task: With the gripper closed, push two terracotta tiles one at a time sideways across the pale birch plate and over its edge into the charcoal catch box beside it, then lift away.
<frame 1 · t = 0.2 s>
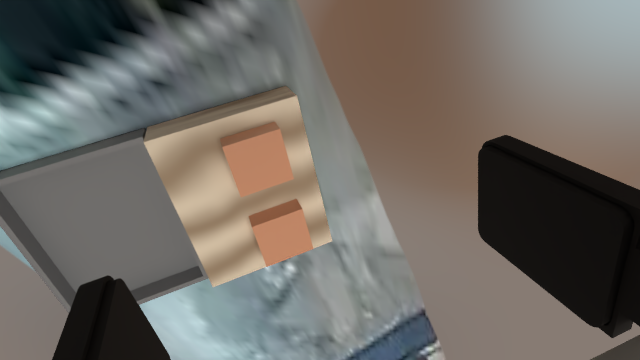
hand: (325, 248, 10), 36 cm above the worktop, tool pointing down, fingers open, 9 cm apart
catch box: (112, 225, 45), on the worktop
tile a: (255, 155, 41), point 5 cm above the worktop, touching bench plate
bench plate: (245, 180, 48), on the worktop
tile b: (279, 227, 46), point 5 cm above the worktop, touching bench plate
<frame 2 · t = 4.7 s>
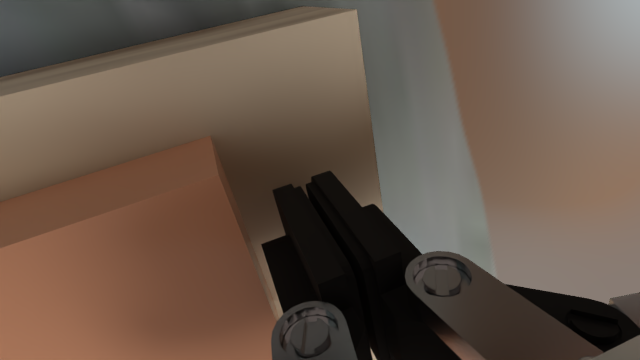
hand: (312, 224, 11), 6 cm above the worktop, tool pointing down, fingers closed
tile a: (142, 267, 10), point 5 cm above the worktop, touching bench plate, gripper
bench plate: (180, 286, 17), on the worktop
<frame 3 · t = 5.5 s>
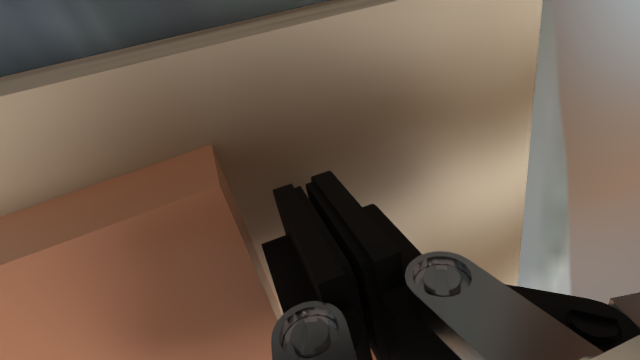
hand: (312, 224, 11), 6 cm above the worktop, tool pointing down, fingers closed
tile a: (147, 274, 11), point 5 cm above the worktop, touching bench plate, gripper
bench plate: (301, 243, 18), on the worktop
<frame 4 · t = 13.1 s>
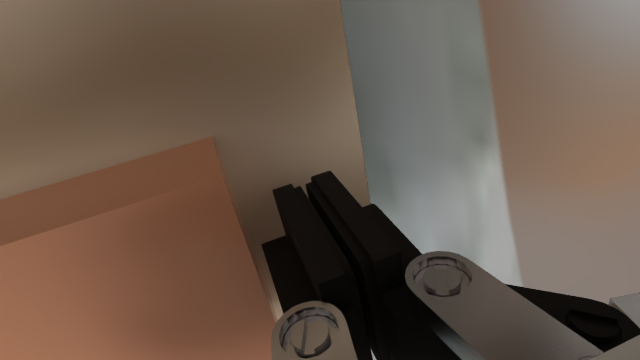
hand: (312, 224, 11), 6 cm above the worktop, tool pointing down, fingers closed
bench plate: (55, 65, 12), on the worktop
tile b: (141, 266, 10), point 5 cm above the worktop, touching bench plate, gripper
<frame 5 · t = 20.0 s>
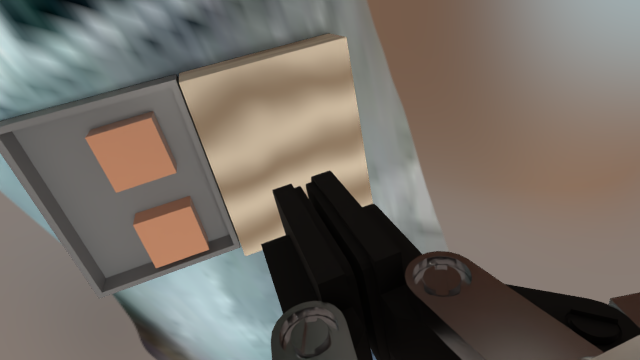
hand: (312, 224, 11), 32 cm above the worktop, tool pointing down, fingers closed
catch box: (137, 185, 41), on the worktop
tile a: (133, 156, 36), point 3 cm above the worktop, tilted 180°, touching catch box
bench plate: (281, 140, 44), on the worktop
tile b: (172, 237, 41), point 3 cm above the worktop, tilted 180°, touching catch box
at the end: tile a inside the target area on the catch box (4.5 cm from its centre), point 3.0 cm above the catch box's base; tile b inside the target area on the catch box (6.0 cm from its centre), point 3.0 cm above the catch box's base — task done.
